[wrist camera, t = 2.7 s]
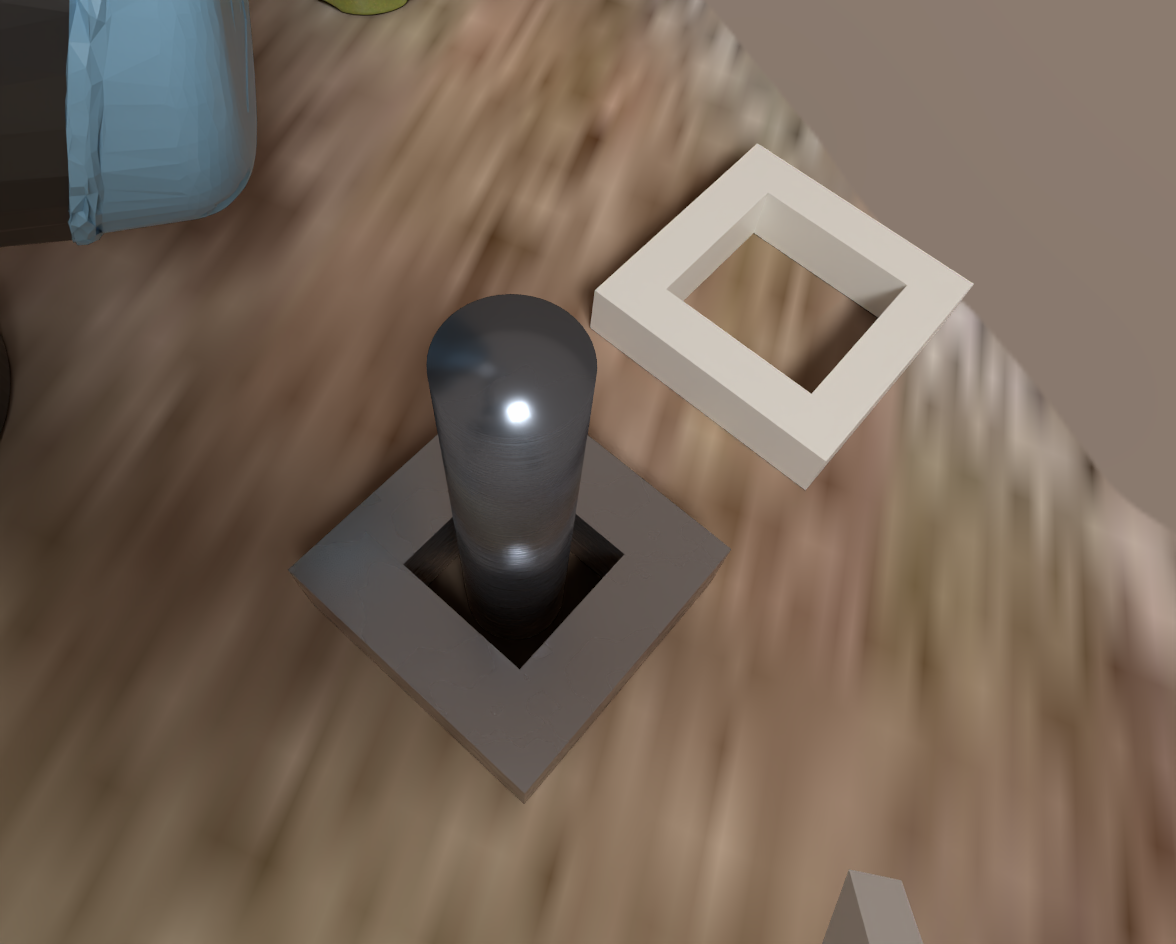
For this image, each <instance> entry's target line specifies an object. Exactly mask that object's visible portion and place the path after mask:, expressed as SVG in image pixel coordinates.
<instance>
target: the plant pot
mask: <svg viewBox="0 0 1176 944" xmlns="http://www.w3.org/2000/svg"><path fill="white" fill-rule="evenodd" d="M324 1H326V2H328V3H330V4H332V5H333V6H335V7H337V8H338V9H339V10H341V11H342V12H345V13H350V14H359V15H371V14H379V13H384V12H389V11H392V10H395V9H397V8H399V7H401V6H403V5H404V4H405V3H406V2H407V0H324Z"/></svg>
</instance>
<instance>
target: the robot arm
mask: <svg viewBox="0 0 1176 944" xmlns="http://www.w3.org/2000/svg"><path fill="white" fill-rule="evenodd" d="M256 146H257V107H256V87H255V71H254V58H253V46H252V34H251V22H250V12H249V3H248V0H0V247H6V246H16V245H27V244H37V243H47V242H57V241H68V240H73V243H74V242H76V243H77V245H89V244H90V243H93V242H95V241H97V240H100V238H101V236H102V235H103V234H104V233H108V232H115V231H122V230H128V229H135V228H142V227H148V226H155V225H161V224H168V223H175V222H181V221H188V220H195V219H200V218H204V217H207V216H209V215H212V214H214V213H217V212H219V211H221V210H223V209H224V208H226V207H227V206H228V205H229V204H230V203H231V202H233V201H234V199H235V198H236V197H237V196H238V195H239V194H240V193H241V192H242V190H243V189H244V188H245V186H246V184H247V183H248V180H249V178H250V176H251V174H252V170H253V166H254V161H255V157H256ZM9 394H10V369H9V362H8V357H7V353H6V348H5V345H4V343H3V340H2V337H1V335H0V433H1V430H2V427H3V424H4V421H5V417H6V413H7V408H8V402H9ZM822 944H923V942H922V939H921V936H920V933H919V930H918V927H917V925H916V922H915V919H914V916H913V913H912V910H911V907H910V904H909V901H908V898H907V895H906V892H905V890H904V887H903V884H902V881H901V880H897V879H892V878H887V877H883V876H878V875H873V874H868V873H864V872H859V871H854V870H850V869H849V871H848V874H847V876H846V879H845V882H844V885H843V887H842V890H841V893H840V896H839V899H838V901H837V904H836V907H835V910H834V912H833V915H832V918H831V921H830V923H829V926H828V929H827V932H826V934H825V937H824V940H823V943H822Z"/></svg>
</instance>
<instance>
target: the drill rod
mask: <svg viewBox="0 0 1176 944" xmlns="http://www.w3.org/2000/svg"><path fill="white" fill-rule="evenodd" d="M596 374H597V359H596V353H595V350H594V347H593V344H592V341H591V339H590V337H589V335H588V334H587V332H586V331H585V329H584V328H583V326H582V325H581V324H580V323H579V322H578V321H577V320H576V319H575V318H574V317H573V316H572V315H570V314H569V313H568V312H567V311H565V310H564V309H562V308H561V307H559V306H557V305H555V304H553V303H551V302H548V301H546V300H543V299H540V298H536V297H532V296H526V295H517V294H506V295H496V296H490V297H486V298H483V299H479V300H477V301H474V302H472V303H469V304H467V305H466V306H464V307H462V308H460V309H459V310H458V311H456V312H455V313H453V314H452V315H451V316H450V317H449V318H448V319H447V320H446V321H445V322H444V323H443V324H442V325H441V327H440V328H439V329H438V331H437V332H436V334H435V336H434V337H433V340H432V342H431V344H430V347H429V351H428V355H427V376H428V382H429V387H430V393H431V398H432V404H433V409H434V415H435V421H436V426H437V432H438V437H439V443H440V448H441V454H442V459H443V465H444V471H445V476H446V482H447V487H448V493H449V498H450V504H451V509H452V515H453V521H454V526H455V532H456V537H457V543H458V548H459V554H460V559H461V565H462V571H463V576H464V582H465V587H466V593H467V598H468V603H469V608H470V610H471V613H472V615H473V617H474V618H475V620H476V621H477V622H478V624H479V625H480V626H481V627H482V628H483V629H485V630H486V631H487V632H489V633H491V634H492V635H495V636H497V637H500V638H503V639H509V640H520V639H526V638H530V637H533V636H535V635H537V634H539V633H541V632H542V631H544V630H545V629H546V628H548V627H549V626H550V625H551V624H552V622H553V621H554V620H555V618H556V617H557V615H558V613H559V611H560V609H561V605H562V601H563V594H564V588H565V581H566V574H567V568H568V561H569V554H570V548H571V541H572V534H573V528H574V521H575V514H576V508H577V501H578V494H579V488H580V481H581V474H582V468H583V461H584V455H585V448H586V441H587V435H588V428H589V421H590V415H591V408H592V401H593V395H594V388H595V381H596Z"/></svg>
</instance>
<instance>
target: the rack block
mask: <svg viewBox="0 0 1176 944" xmlns="http://www.w3.org/2000/svg"><path fill="white" fill-rule="evenodd" d="M753 233H755V234H756V235H758V236H759V237H761V238H762V239H763V240H765V241H766V242H768V243H769V244H771V245H772V246H774V247H775V248H777V249H778V250H780V251H781V252H783V253H784V254H785V255H787V256H788V257H790V258H791V259H793V260H794V261H796V262H797V263H799V264H800V265H802V266H803V267H805V268H806V269H807V270H809V271H810V272H812V273H813V274H815V275H816V276H818V277H819V278H821V279H822V280H824V281H825V282H827V283H828V284H830V285H831V286H832V287H834V288H835V289H837V290H838V291H840V292H841V293H843V294H844V295H846V296H847V297H849V298H850V299H852V300H853V301H854V302H856V303H857V304H859V305H860V306H862V307H863V308H865V309H866V310H868V311H869V312H871V313H872V314H874V315H875V316H876V317H878V319H877V320H876V321H875V322H874V324H873V325H872V326H871V327H870V328H869V329H868V330H867V331H866V333H865V334H864V335H863V336H862V337H861V338H860V339H859V341H858V342H857V343H856V344H855V345H854V346H853V347H852V349H851V350H850V351H849V352H848V353H847V354H846V355H845V356H844V358H843V359H842V360H841V361H840V362H839V363H838V364H837V366H836V367H835V368H834V369H833V370H832V371H831V372H830V373H829V375H828V376H827V377H826V378H825V379H824V380H823V381H822V383H821V384H820V385H819V386H818V387H817V388H816V389H815V391H814V392H813V393H812V394H811V393H809V392H808V391H807V390H805V389H804V388H803V387H801V386H800V385H798V384H797V383H796V382H794V381H793V380H791V379H790V378H789V377H787V376H786V375H785V374H783V373H782V372H780V371H779V370H778V369H776V368H775V367H773V366H772V365H771V364H769V363H768V362H766V361H765V360H764V359H762V358H761V357H760V356H758V355H757V354H755V353H754V352H753V351H751V350H750V349H748V348H747V347H746V346H744V345H743V344H742V343H740V342H739V341H737V340H736V339H735V338H733V337H732V336H730V335H729V334H728V333H726V332H725V331H724V330H722V329H721V328H719V327H718V326H717V325H715V324H714V323H712V322H711V321H710V320H708V319H707V318H706V317H704V316H703V315H701V314H700V313H699V312H697V311H696V310H694V309H693V308H692V307H690V306H689V305H688V304H686V303H685V302H683V301H684V300H685V299H686V298H687V297H688V296H689V295H690V294H691V293H692V292H693V291H694V290H695V289H696V288H697V287H698V286H699V285H700V284H701V283H702V282H703V281H704V280H705V279H706V278H708V277H709V276H710V275H711V274H712V273H713V272H714V271H715V270H716V269H717V268H718V267H719V266H720V265H721V264H722V263H723V262H724V261H725V260H726V259H727V258H728V257H729V256H730V255H731V254H732V253H733V252H734V251H735V250H736V249H737V248H739V247H740V246H741V245H742V244H743V243H744V242H745V241H746V240H747V239H748V238H749V237H750V236H751V235H752V234H753ZM972 286H973V283H971V282H970V281H968V280H967V279H965V278H963V277H962V276H961V275H959V274H958V273H956V272H955V271H953V270H951V269H950V268H948V267H947V266H945V265H944V264H942V263H941V262H939V261H938V260H936V259H935V258H933V257H931V256H930V255H928V254H927V253H925V252H924V251H922V250H921V249H919V248H918V247H916V246H915V245H913V244H911V243H910V242H908V241H907V240H905V239H904V238H902V237H901V236H899V235H898V234H896V233H895V232H893V231H891V230H890V229H888V228H887V227H885V226H884V225H882V224H881V223H879V222H878V221H876V220H875V219H873V218H871V217H870V216H868V215H867V214H865V213H864V212H862V211H861V210H859V209H858V208H856V207H855V206H853V205H851V204H850V203H848V202H847V201H845V200H844V199H842V198H841V197H839V196H838V195H836V194H835V193H833V192H831V191H830V190H828V189H827V188H825V187H824V186H822V185H821V184H819V183H818V182H816V181H815V180H813V179H811V178H810V177H808V176H807V175H805V174H804V173H802V172H801V171H799V170H798V169H796V168H795V167H793V166H791V165H790V164H788V163H787V162H785V161H784V160H782V159H781V158H779V157H778V156H776V155H775V154H773V153H771V152H770V151H768V150H767V149H765V148H764V147H762V146H761V145H759V144H758V143H757V144H756V145H755V146H754V147H753V148H752V149H751V150H750V151H748V152H747V153H746V154H745V155H744V156H743V157H742V158H741V159H740V160H739V161H737V162H736V163H735V164H734V165H733V166H732V167H731V168H730V169H729V170H727V171H726V172H725V173H724V174H723V175H722V176H721V177H720V178H719V179H717V180H716V181H715V182H714V183H713V184H712V185H711V186H710V187H709V188H708V189H706V190H705V191H704V192H703V193H702V194H701V195H700V196H699V197H698V198H696V199H695V200H694V201H693V202H692V203H691V204H690V205H689V206H688V207H686V208H685V209H684V210H683V211H682V212H681V213H680V214H679V215H678V216H677V217H675V218H674V219H673V220H672V221H671V222H670V223H669V224H668V225H667V226H665V227H664V228H663V229H662V230H661V231H660V232H659V233H658V234H657V235H655V236H654V237H653V238H652V239H651V240H650V241H649V242H648V243H647V244H646V245H644V246H643V247H642V248H641V249H640V250H639V251H638V252H637V253H636V254H634V255H633V256H632V257H631V258H630V259H629V260H628V261H627V262H626V263H624V264H623V265H622V266H621V267H620V268H619V269H618V270H617V271H616V272H615V273H613V274H612V275H611V276H610V277H609V278H608V279H607V280H606V281H605V282H603V283H602V284H601V285H600V286H599V287H598V288H597V289H596V290H595V293H594V301H593V309H592V317H591V325H590V328H591V329H593V330H594V331H595V332H597V333H598V334H599V335H601V336H602V337H603V338H604V339H606V340H607V341H608V342H610V343H611V344H612V345H614V346H615V347H616V348H618V349H619V350H620V351H622V352H623V353H624V354H626V355H627V356H628V357H630V358H631V359H632V360H634V361H635V362H636V363H638V364H639V365H640V366H642V367H643V368H644V369H646V370H647V371H648V372H650V373H651V374H652V375H653V376H655V377H656V378H657V379H659V380H660V381H661V382H663V383H664V384H665V385H667V386H668V387H669V388H671V389H672V390H673V391H675V392H676V393H677V394H679V395H680V396H681V397H683V398H684V399H685V400H687V401H688V402H689V403H691V404H692V405H693V406H695V407H696V408H697V409H698V410H700V411H701V412H702V413H704V414H705V415H706V416H708V417H709V418H710V419H712V420H713V421H714V422H716V423H717V424H718V425H720V426H721V427H722V428H724V429H725V430H726V431H728V432H729V433H730V434H732V435H733V436H734V437H736V438H737V439H738V440H740V441H741V442H742V443H744V444H745V445H746V446H747V447H749V448H750V449H751V450H753V451H754V452H755V453H757V454H758V455H759V456H761V457H762V458H763V459H765V460H766V461H767V462H769V463H770V464H771V465H773V466H774V467H775V468H777V469H778V470H779V471H781V472H782V473H783V474H785V475H786V476H787V477H789V478H790V479H791V480H792V481H794V482H795V483H796V484H798V485H799V486H800V487H802V488H803V489H804V490H806V489H807V488H808V487H809V485H810V484H811V483H812V482H813V480H814V479H815V478H816V477H817V476H818V474H819V473H820V472H821V471H822V470H823V468H824V467H825V466H826V465H827V464H828V462H829V461H830V460H831V459H832V458H833V456H834V455H835V454H836V453H837V452H838V450H839V449H840V448H841V447H842V446H843V444H844V443H845V442H846V441H847V440H848V438H849V437H850V436H851V435H852V433H853V432H854V431H855V430H856V429H857V427H858V426H859V425H860V424H861V423H862V421H863V420H864V419H865V418H866V417H867V415H868V414H869V413H870V412H871V411H872V409H873V408H874V407H875V406H876V405H877V403H878V402H879V401H880V400H881V399H882V397H883V396H884V395H885V394H886V393H887V391H888V390H889V389H890V388H891V387H892V385H893V384H894V383H895V382H896V380H897V379H898V378H899V377H900V376H901V374H902V373H903V372H904V371H905V370H906V368H907V367H908V366H909V365H910V364H911V362H912V361H913V360H914V359H915V358H916V356H917V355H918V354H919V353H920V352H921V350H922V349H923V348H924V347H925V346H926V344H927V343H928V342H929V341H930V340H931V338H932V337H933V336H934V335H935V334H936V332H937V331H938V330H939V329H940V327H941V326H942V325H943V324H944V323H945V321H946V320H947V319H948V318H949V316H950V315H951V314H952V312H953V311H954V310H955V308H956V307H957V306H958V304H959V303H960V302H961V300H962V299H963V298H964V296H965V295H966V294H967V292H968V291H969V289H970V288H971V287H972Z"/></svg>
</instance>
